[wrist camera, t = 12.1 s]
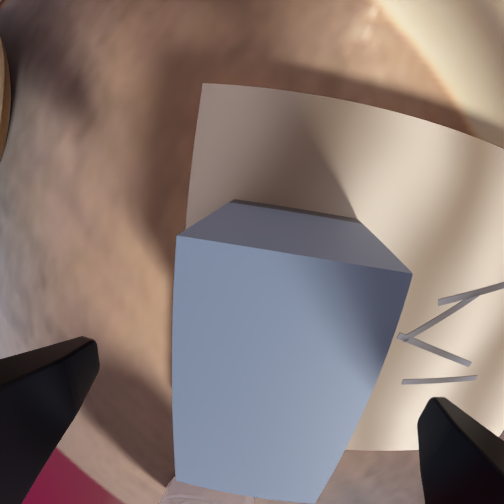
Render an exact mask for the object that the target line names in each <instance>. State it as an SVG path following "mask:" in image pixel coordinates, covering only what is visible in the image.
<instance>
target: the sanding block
mask: <svg viewBox="0 0 504 504" xmlns="http://www.w3.org/2000/svg"><path fill="white" fill-rule="evenodd" d="M412 276H413V273H412V272H411V271H410V270H409V269H408V268H407V267H406V266H405V265H404V264H403V263H402V262H401V261H400V260H399V259H398V258H397V257H396V256H395V255H394V254H393V253H392V252H391V251H390V250H389V249H388V248H387V247H386V246H385V245H384V244H383V243H382V242H381V241H380V240H379V239H378V238H377V237H376V236H375V235H374V234H373V233H372V232H371V231H370V230H369V229H368V228H367V227H366V226H364V225H363V224H362V223H361V222H360V221H359V220H358V219H355V218H350V217H344V216H339V215H333V214H327V213H321V212H315V211H309V210H303V209H297V208H291V207H285V206H278V205H272V204H265V203H258V202H252V201H245V200H238V199H234V200H232V201H231V202H229V203H227V204H226V205H224V206H222V207H221V208H219V209H218V210H216V211H214V212H213V213H211V214H210V215H208V216H206V217H205V218H203V219H202V220H200V221H198V222H197V223H195V224H194V225H192V226H191V227H189V228H187V229H186V230H184V231H183V232H181V233H180V234H178V235H177V237H176V252H175V269H174V290H173V320H172V411H173V440H174V459H175V475H176V481H179V482H183V483H187V484H191V485H195V486H199V487H203V488H207V489H212V490H217V491H221V492H226V493H232V494H237V495H243V496H249V497H256V498H263V499H270V500H279V501H288V502H300V503H315V502H316V500H317V499H318V497H319V495H320V494H321V492H322V490H323V489H324V487H325V485H326V484H327V482H328V480H329V478H330V477H331V475H332V473H333V471H334V469H335V468H336V466H337V464H338V462H339V460H340V458H341V456H342V455H343V453H344V451H345V449H346V447H347V445H348V443H349V441H350V439H351V437H352V435H353V433H354V431H355V429H356V427H357V424H358V422H359V420H360V418H361V416H362V414H363V411H364V409H365V407H366V405H367V403H368V400H369V398H370V396H371V393H372V391H373V389H374V386H375V384H376V381H377V379H378V376H379V374H380V371H381V369H382V366H383V364H384V361H385V359H386V356H387V353H388V351H389V348H390V345H391V342H392V339H393V337H394V334H395V331H396V328H397V325H398V322H399V319H400V316H401V313H402V310H403V306H404V303H405V300H406V297H407V293H408V290H409V286H410V283H411V279H412Z"/></svg>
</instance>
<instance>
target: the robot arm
mask: <svg viewBox="0 0 504 504" xmlns="http://www.w3.org/2000/svg"><path fill="white" fill-rule="evenodd" d="M99 367H100V363H99V356H98V348H97V343H96V341H95V340H93V339H90V338H87V337H84V336H81V337H78V338H74V339H71V340H67V341H64V342H60V343H57V344H53V345H50V346H46V347H43V348H39V349H36V350H32V351H29V352H25V353H21V354H18V355H14V356H11V357H7V358H3V359H0V504H22V502H23V500H24V499H25V497H26V495H27V494H28V492H29V490H30V488H31V487H32V485H33V483H34V482H35V480H36V478H37V476H38V475H39V473H40V472H41V470H42V468H43V467H44V465H45V464H46V462H47V460H48V459H49V457H50V455H51V454H52V452H53V451H54V449H55V447H56V446H57V444H58V443H59V441H60V440H61V438H62V436H63V435H64V433H65V432H66V430H67V429H68V427H69V426H70V424H71V422H72V421H73V419H74V418H75V416H76V414H77V413H78V411H79V409H80V407H81V405H82V403H83V401H84V399H85V397H86V395H87V393H88V391H89V389H90V387H91V385H92V384H93V382H94V380H95V378H96V376H97V374H98V372H99ZM417 432H418V444H419V458H420V471H421V478H422V485H423V491H424V498H425V504H504V441H503V440H502V439H500V438H499V437H498V436H496V435H495V434H494V433H492V432H491V431H490V430H488V429H487V428H486V427H484V426H483V425H481V424H480V423H479V422H477V421H476V420H475V419H473V418H472V417H471V416H469V415H468V414H467V413H465V412H464V411H463V410H461V409H460V408H459V407H457V406H456V405H455V404H453V403H452V402H451V401H449V400H448V399H447V398H445V397H432V398H430V399H429V401H428V402H427V404H426V406H425V408H424V410H423V412H422V413H421V415H420V417H419V419H418V422H417Z"/></svg>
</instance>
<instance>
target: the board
mask: <svg viewBox="0 0 504 504" xmlns="http://www.w3.org/2000/svg"><path fill="white" fill-rule="evenodd" d="M234 199H238V200H245V201H252V202H258V203H265V204H272V205H278V206H285V207H291V208H297V209H303V210H309V211H315V212H321V213H327V214H333V215H339V216H344V217H350V218H355V219H358V220H359V221H360V222H361V223H362V224H363V225H364V226H366V227H367V228H368V229H369V230H370V231H371V232H372V233H373V234H374V235H375V236H376V237H377V238H378V239H379V240H380V241H381V242H382V243H383V244H384V245H385V246H386V247H387V248H388V249H389V250H390V251H391V252H392V253H393V254H394V255H395V256H396V257H397V258H398V259H399V260H400V261H401V262H402V263H403V264H404V265H405V266H406V267H407V268H408V269H409V270H410V271H411V272H412V273H413V276H412V279H411V283H410V286H409V290H408V293H407V297H406V300H405V303H404V306H403V310H402V313H401V316H400V319H399V322H398V325H397V328H396V331H395V334H394V337H393V339H392V342H391V345H390V348H389V351H388V353H387V356H386V359H385V361H384V364H383V366H382V369H381V371H380V374H379V376H378V379H377V381H376V384H375V386H374V389H373V391H372V393H371V396H370V398H369V400H368V403H367V405H366V407H365V409H364V411H363V414H362V416H361V418H360V420H359V422H358V424H357V427H356V429H355V431H354V433H353V435H352V437H351V439H350V441H349V443H348V445H347V447H346V450H377V451H393V450H419V444H418V432H417V422H418V419H419V417H420V415H421V413H422V412H423V410H424V408H425V406H426V404H427V402H428V401H429V399H430V398H432V397H445V398H447V399H448V400H449V401H451V402H452V403H453V404H455V405H456V406H457V407H459V408H460V409H461V410H463V411H464V412H465V413H467V414H468V415H469V416H471V417H472V418H473V419H475V420H476V421H477V422H479V423H480V424H481V425H483V426H484V427H486V428H487V429H488V430H490V431H491V432H492V433H494V434H495V435H496V436H498V437H499V436H500V434H501V433H502V432H503V430H504V149H503V148H501V147H498V146H496V145H494V144H491V143H489V142H486V141H484V140H481V139H478V138H476V137H473V136H470V135H468V134H465V133H462V132H459V131H457V130H454V129H451V128H448V127H445V126H442V125H439V124H436V123H432V122H429V121H426V120H423V119H419V118H416V117H412V116H409V115H405V114H402V113H398V112H394V111H390V110H386V109H382V108H378V107H374V106H370V105H365V104H361V103H356V102H352V101H347V100H342V99H336V98H331V97H326V96H320V95H314V94H308V93H301V92H294V91H287V90H280V89H271V88H262V87H252V86H241V85H228V84H211V83H203V85H202V91H201V98H200V105H199V112H198V119H197V126H196V133H195V141H194V149H193V157H192V166H191V175H190V184H189V193H188V204H187V214H186V225H185V230H186V229H187V228H189V227H191V226H192V225H194V224H195V223H197V222H198V221H200V220H202V219H203V218H205V217H206V216H208V215H210V214H211V213H213V212H214V211H216V210H218V209H219V208H221V207H222V206H224V205H226V204H227V203H229V202H231V201H232V200H234Z"/></svg>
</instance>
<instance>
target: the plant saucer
mask: <svg viewBox="0 0 504 504" xmlns="http://www.w3.org/2000/svg"><path fill="white" fill-rule="evenodd" d="M10 107H11V84H10V73H9V65H8V60H7V55H6V51H5V47H4V44H3V41H2V39H1V36H0V161H1V158H2V155H3V151H4V147H5V143H6V138H7V133H8V127H9V119H10Z"/></svg>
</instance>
